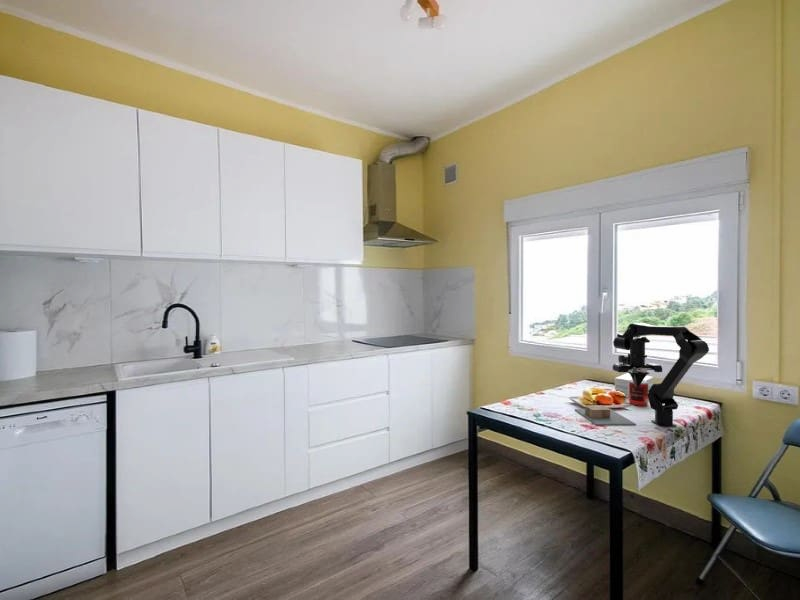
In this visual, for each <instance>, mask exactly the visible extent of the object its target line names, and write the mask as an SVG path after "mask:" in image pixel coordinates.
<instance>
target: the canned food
mask: <svg viewBox="0 0 800 600" xmlns="http://www.w3.org/2000/svg"><path fill="white" fill-rule="evenodd" d="M647 395H648V382H647V381H644V380H643V381H642V383H641V384H640V386H639V388H636V387H635V385H634V382H633V379H632V380H630V381H629V398H628V400H629V401H628V402H629V404H630V405H633V406H635V407H647V406H648V404H649V403H648V402H649V399H648V396H647Z"/></svg>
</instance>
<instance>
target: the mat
mask: <svg viewBox="0 0 800 600" xmlns="http://www.w3.org/2000/svg"><path fill="white" fill-rule="evenodd" d="M609 409H610V418H591V417H589V416H588V415H586V414H585V408H574V411H575V412H576V413H578V414H580V415H581V416H582V417H583V418H585V419H587V420H588V421H589V422H590V423H592V424H593V425H595V426H636V425H637V424H636V423H635V422H633V420H630V419H629V418H627V417H625V416H623V415H622V414H620V413H618V412H616V411H614V410H613V409H611V408H609Z"/></svg>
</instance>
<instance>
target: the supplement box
mask: <svg viewBox="0 0 800 600" xmlns="http://www.w3.org/2000/svg"><path fill="white" fill-rule="evenodd" d="M654 379H655V377H654V376H650V375H646V377H645V378H644V379H643V380H644V381H647V382H648V390H650V388H651V386H652V385H653V384H655V383H654ZM630 380H632V377H631V375H630V374H629V373H628V372H625V373H624V374H622V375H619V376H617V377H614V391H615V390H616V391H620V392H622V393H624V394H625V396H626V397H625V398H627V399H629V381H630ZM648 393H649V392H648Z"/></svg>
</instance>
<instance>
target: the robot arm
mask: <svg viewBox="0 0 800 600" xmlns="http://www.w3.org/2000/svg"><path fill="white" fill-rule="evenodd" d="M647 336H667V337H673V338H674V340H675V343H676V345H677V346H678V347H679V348H680V349H679V350H678V353H679V354H678V356H679V357H678V358H677V360H676V361H675V363H674V365H673V366H672V367H671V368H670V369H669V371H668V373H667V374H666V375H665V377H664V378H663V380H662V381H661V382H660V383H654V384H653V385H652V386H651V388H650V390H648V392H649V393H648V395H647V396H648V402H649V406H650V409H652V410H654V419H652V420H651V422H652V423H653V424H655V425H657V426H659V427H677V426H678V425H677V424H675V423H674V411H673V410H677V409H678V407H679V404H678V402H677V401H676V400H675V399H674V395H675V388H676V387H677V386H678V384H679V383H680V382H681V380H682V379H683V378H684V377H685V375H686V374H687V372H688V371H689V370H690V368H691V367H692V365H693V364H694V363H696V362H698V361H699V360H701V359H703V358H704V357H705V356H706V355H707V354H708V353H709V351H710V348H709V345H708V343H707V342H706V340H705V341H704V340H703V339H702V338H700V336H698V335H696V334H695V333H693V332H692V331H690V330H689V328H687V327H685V325H684V326H683V325H679V326H678V325H677V326H676V325H675V326H671V325H670V326H668V325H653V324H649V323H645V322H634V323H633V322H632V323H629V324H628V326H627V328H626V330H625V331H624V332H623V333H617V334H616V337H614V339H613V341H612V342H613V346H614V348H615V349H619V350H624V351H629V353H627V356H625V355H623V354H621V355H618V363H613V364H612V370H613V371H614V372H618V373H629V374H630V375H631V377H632V379H633V382H634V385H635V387H636V388H639V386H640V384H641V383H642V381H643V379H644V378H645V377H646V376H648V375H650V373H649V372H648V371H654V372H655V373H663V367H662V366H661V365H660V364H658V363H648V362H647V363H646V358H648V355H647V354H646V343H651V341H650V340H649V339H648V337H647Z"/></svg>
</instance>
